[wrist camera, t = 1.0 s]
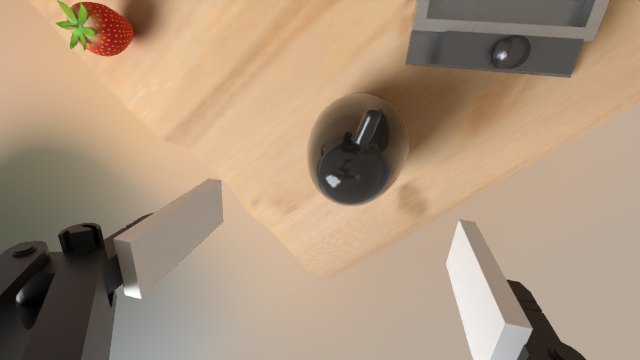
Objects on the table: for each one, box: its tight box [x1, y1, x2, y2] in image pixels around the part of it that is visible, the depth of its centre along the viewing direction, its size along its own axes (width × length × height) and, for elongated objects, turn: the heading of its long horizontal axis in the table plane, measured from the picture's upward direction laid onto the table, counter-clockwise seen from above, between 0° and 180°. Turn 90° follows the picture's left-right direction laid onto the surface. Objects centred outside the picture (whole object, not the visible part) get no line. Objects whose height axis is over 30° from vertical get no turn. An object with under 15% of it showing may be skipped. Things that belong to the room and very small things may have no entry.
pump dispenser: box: [307, 94, 409, 206], centre depth 28 cm, size 10×10×15 cm
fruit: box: [56, 0, 134, 56], centre depth 33 cm, size 5×5×8 cm
